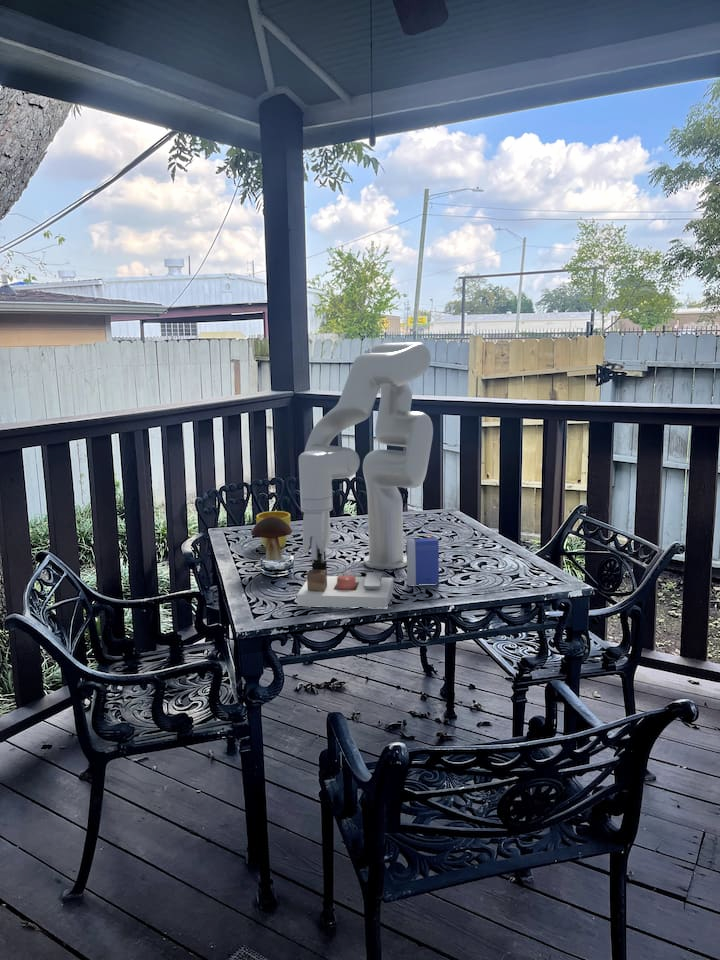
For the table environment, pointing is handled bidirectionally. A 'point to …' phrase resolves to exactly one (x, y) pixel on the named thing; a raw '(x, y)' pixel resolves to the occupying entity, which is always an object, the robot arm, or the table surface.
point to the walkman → (422, 561)
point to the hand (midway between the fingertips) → (320, 577)
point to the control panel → (347, 594)
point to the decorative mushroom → (272, 535)
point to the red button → (346, 582)
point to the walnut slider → (317, 580)
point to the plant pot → (279, 514)
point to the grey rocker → (373, 580)
